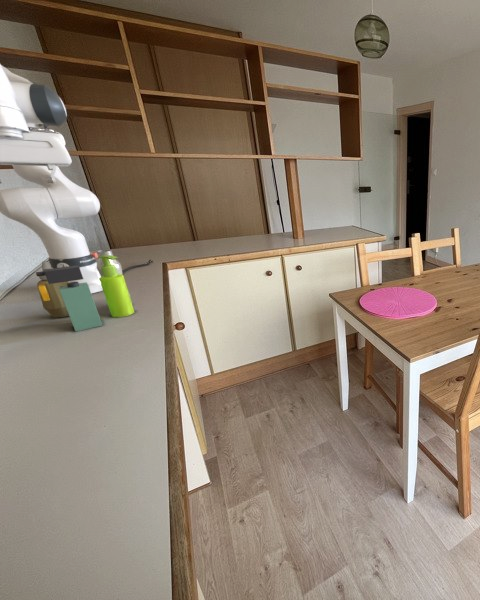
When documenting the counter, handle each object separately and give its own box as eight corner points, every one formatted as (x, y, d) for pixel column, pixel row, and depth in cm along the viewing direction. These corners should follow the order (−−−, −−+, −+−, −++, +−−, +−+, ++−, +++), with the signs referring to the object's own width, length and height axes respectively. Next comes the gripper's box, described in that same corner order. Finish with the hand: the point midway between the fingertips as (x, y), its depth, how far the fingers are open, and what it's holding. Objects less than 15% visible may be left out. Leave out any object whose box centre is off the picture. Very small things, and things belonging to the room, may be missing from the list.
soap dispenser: (124, 318, 102) (104, 258, 95) (106, 316, 103) (86, 257, 96) (141, 311, 107) (124, 254, 100) (124, 309, 109) (106, 253, 101)
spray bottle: (60, 335, 91) (35, 273, 84) (59, 329, 94) (35, 269, 87) (102, 325, 97) (82, 267, 90) (100, 320, 100) (80, 264, 93)
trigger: (43, 301, 87) (38, 287, 86) (43, 298, 89) (38, 284, 88) (50, 300, 88) (44, 286, 86) (49, 297, 90) (44, 283, 88)
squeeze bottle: (87, 311, 106) (69, 260, 100) (57, 321, 99) (34, 266, 92) (72, 308, 108) (53, 257, 102) (41, 317, 101) (18, 263, 95)
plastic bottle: (114, 311, 107) (95, 254, 100) (106, 307, 110) (87, 251, 103) (137, 305, 112) (120, 250, 105) (129, 301, 115) (112, 248, 108)
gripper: (59, 132, 86) (79, 185, 90) (-68, 122, 71) (-38, 185, 75) (62, 126, 83) (82, 181, 86) (-72, 113, 67) (-40, 180, 71)
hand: (25, 183), depth 80 cm, fingers open, 8 cm apart
